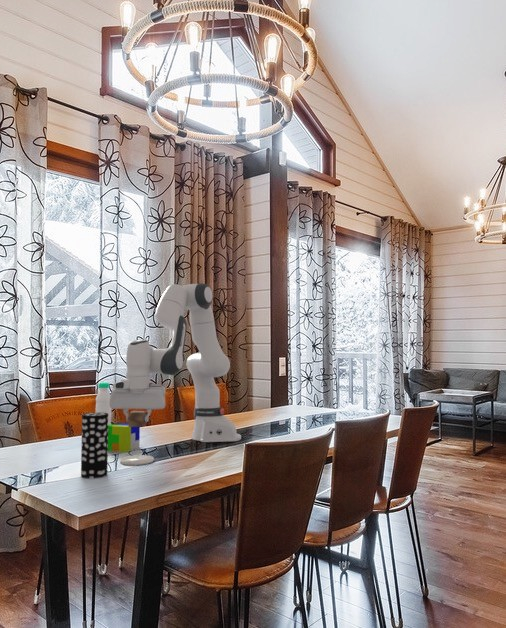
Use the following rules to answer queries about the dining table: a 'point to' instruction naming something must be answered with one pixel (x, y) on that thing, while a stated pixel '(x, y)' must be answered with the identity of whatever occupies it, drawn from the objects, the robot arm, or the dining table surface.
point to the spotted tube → (94, 445)
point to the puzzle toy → (123, 437)
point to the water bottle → (103, 400)
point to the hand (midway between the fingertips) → (137, 421)
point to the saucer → (137, 460)
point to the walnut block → (137, 419)
